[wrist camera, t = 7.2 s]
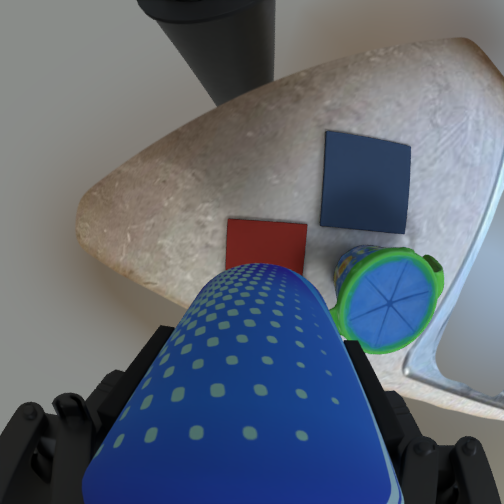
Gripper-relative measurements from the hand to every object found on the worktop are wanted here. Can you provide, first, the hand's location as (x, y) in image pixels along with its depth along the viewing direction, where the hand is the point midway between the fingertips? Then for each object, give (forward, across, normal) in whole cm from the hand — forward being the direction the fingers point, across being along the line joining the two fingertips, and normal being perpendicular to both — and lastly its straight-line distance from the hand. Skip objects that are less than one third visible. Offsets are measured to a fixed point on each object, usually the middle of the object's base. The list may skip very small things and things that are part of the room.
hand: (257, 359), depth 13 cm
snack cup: (+20, +12, -1) cm, 24 cm away
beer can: (+5, 0, 0) cm, 5 cm away
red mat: (+20, 0, 0) cm, 20 cm away
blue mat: (+20, +12, +10) cm, 25 cm away
